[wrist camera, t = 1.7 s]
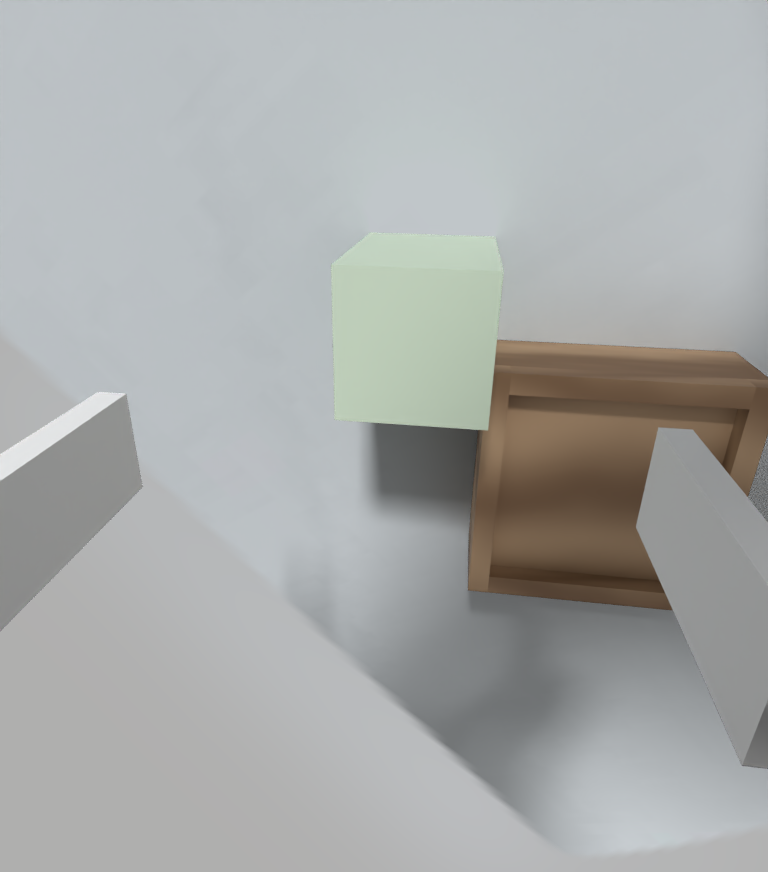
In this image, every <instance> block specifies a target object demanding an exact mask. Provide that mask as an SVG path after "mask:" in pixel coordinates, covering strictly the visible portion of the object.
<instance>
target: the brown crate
mask: <svg viewBox="0 0 768 872" xmlns="http://www.w3.org/2000/svg"><path fill="white" fill-rule="evenodd" d="M658 427H660V428H676V429H692V430H694V432H695V433H696V434H697V435H698V437H699V438H700V439H701V440H702V442H703V443H704V444H705V445H706V446H707V448H708V449H709V450H710V451H711V453H712V454H713V455H714V456H715V458H716V459H717V460H718V461H719V463H720V464H721V465H722V466H723V467H724V469H725V470H726V471H727V472H728V474H729V475H730V476H731V477H732V479H733V480H734V481H735V482H736V484H737V485H738V486H739V487H740V488H741V490H742V491H743V492H744V493H745V495H746V496H747V497H748V495H749V492H750V489H751V485H752V482H753V479H754V476H755V473H756V470H757V467H758V463H759V460H760V457H761V454H762V451H763V448H764V445H765V441H766V438H767V435H768V377H767V376H765V375H764V374H763V373H762V372H760V371H759V370H758V369H756V368H755V367H754V366H753V365H751V364H750V363H749V362H748V361H746V360H745V359H744V358H742V357H741V356H740V355H739V354H737V353H736V352H725V351H705V350H686V349H666V348H646V347H626V346H607V345H587V344H567V343H548V342H528V341H508V340H497V344H496V354H495V365H494V375H493V385H492V395H491V405H490V416H489V426H488V430H478V437H477V448H476V460H475V471H474V482H473V493H472V504H471V516H470V527H469V555H468V590H469V591H480V592H490V593H500V594H510V595H521V596H531V597H541V598H551V599H561V600H572V601H582V602H592V603H602V604H613V605H623V606H633V607H643V608H653V609H664V610H672V607H671V605H670V603H669V601H668V598H667V596H666V594H665V592H664V589H663V587H662V585H661V583H660V580H659V578H658V576H657V574H656V571H655V569H654V567H653V565H652V562H651V560H650V558H649V556H648V553H647V551H646V549H645V547H644V544H643V542H642V540H641V538H640V535H639V533H638V531H637V529H636V524H637V520H638V515H639V511H640V506H641V502H642V498H643V493H644V489H645V484H646V480H647V475H648V471H649V467H650V462H651V458H652V453H653V449H654V444H655V440H656V436H657V431H658Z"/></svg>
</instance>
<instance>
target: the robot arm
mask: <svg viewBox="0 0 768 872" xmlns="http://www.w3.org/2000/svg"><path fill="white" fill-rule="evenodd" d="M141 488H142V481H141V475H140V469H139V463H138V458H137V452H136V446H135V441H134V435H133V429H132V424H131V418H130V412H129V407H128V401H127V395H126V394H123V393H107V392H97V393H96V394H94V395H93V396H91V397H89V398H88V399H86V400H85V401H83V402H82V403H80V404H78V405H77V406H75V407H74V408H72V409H71V410H69V411H68V412H66V413H64V414H63V415H61V416H60V417H58V418H56V419H55V420H53V421H52V422H50V423H49V424H47V425H46V426H44V427H42V428H41V429H39V430H38V431H36V432H34V433H33V434H31V435H30V436H28V437H27V438H25V439H24V440H22V441H20V442H19V443H17V444H16V445H14V446H12V447H11V448H9V449H8V450H7V451H5V452H3V453H1V454H0V631H1V630H2V629H3V628H4V627H5V626H6V625H7V624H8V623H9V622H10V621H11V620H12V619H13V618H14V617H15V616H16V615H17V614H18V613H19V612H20V611H21V610H22V609H23V608H24V607H25V606H26V605H27V604H28V603H29V602H30V601H31V600H32V599H33V597H35V596H36V595H37V594H38V593H39V592H40V591H41V590H42V589H43V588H44V587H45V586H46V585H47V584H48V583H49V582H50V581H51V579H52V578H54V577H55V575H57V574H58V572H59V571H60V570H61V569H62V568H63V567H64V566H65V565H66V564H67V563H68V562H69V561H70V560H71V559H72V558H73V557H74V556H75V555H76V554H77V553H78V552H79V551H80V550H81V549H82V548H83V547H84V546H85V545H86V544H87V543H88V542H89V541H90V540H91V539H92V538H93V537H94V536H95V535H96V534H97V533H98V532H99V531H100V530H101V529H102V528H103V527H104V526H105V525H106V524H107V523H108V522H109V521H110V520H111V519H112V518H113V517H114V516H115V515H116V514H117V513H118V512H119V511H120V510H121V508H123V507H124V505H126V504H127V502H128V501H129V500H130V499H131V498H132V497H133V496H134V495H135V494H136V493H137V492H138V491H139V490H140V489H141ZM636 529H637V531H638V533H639V535H640V538H641V540H642V542H643V544H644V547H645V549H646V551H647V553H648V556H649V558H650V560H651V562H652V565H653V567H654V569H655V571H656V574H657V576H658V578H659V580H660V583H661V585H662V587H663V589H664V592H665V594H666V596H667V598H668V601H669V603H670V605H671V607H672V610H673V612H674V614H675V616H676V618H677V621H678V623H679V625H680V627H681V630H682V632H683V634H684V636H685V639H686V641H687V643H688V645H689V648H690V650H691V652H692V654H693V657H694V659H695V661H696V663H697V666H698V668H699V670H700V672H701V675H702V677H703V679H704V681H705V684H706V686H707V688H708V690H709V693H710V695H711V697H712V699H713V702H714V704H715V706H716V708H717V711H718V713H719V715H720V717H721V720H722V722H723V724H724V726H725V729H726V731H727V733H728V735H729V738H730V740H731V742H732V744H733V747H734V749H735V751H736V753H737V756H738V758H739V760H740V762H741V765H742V766H749V767H757V768H766V769H768V522H767V521H766V519H765V518H764V517H763V516H762V514H761V513H760V512H759V511H758V509H757V508H756V507H755V506H754V504H753V503H752V502H751V501H750V500H749V498H748V497H747V496H746V495H745V493H744V492H743V491H742V490H741V488H740V487H739V486H738V485H737V484H736V482H735V481H734V480H733V479H732V477H731V476H730V475H729V474H728V472H727V471H726V470H725V469H724V467H723V466H722V465H721V464H720V463H719V461H718V460H717V459H716V458H715V456H714V455H713V454H712V453H711V451H710V450H709V449H708V448H707V446H706V445H705V444H704V443H703V442H702V440H701V439H700V438H699V437H698V435H697V434H696V433H695V432H694V430H692V429H676V428H660V427H658V431H657V436H656V440H655V444H654V449H653V453H652V458H651V462H650V467H649V471H648V475H647V480H646V484H645V489H644V493H643V498H642V502H641V506H640V511H639V515H638V520H637V524H636Z"/></svg>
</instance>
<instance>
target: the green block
mask: <svg viewBox="0 0 768 872" xmlns="http://www.w3.org/2000/svg"><path fill="white" fill-rule="evenodd" d="M503 273H504V271H503V267H502V262H501V258H500V254H499V250H498V246H497V242H496V238H495V237H489V236H459V235H428V234H398V233H369V234H368V235H367V236H365V237H364V238H363V239H362V240H361V241H359V242H358V243H357V244H356V245H354V246H353V247H352V248H351V249H350V250H348V251H347V252H346V253H345V254H343V255H342V256H341V257H340V258H339V259H337V260H336V261H335V262H334V263H333V264H331V278H332V322H333V367H334V412H335V420H342V421H357V422H371V423H386V424H400V425H415V426H430V427H444V428H459V429H473V430H488V426H489V416H490V405H491V395H492V385H493V375H494V365H495V354H496V344H497V334H498V324H499V314H500V303H501V293H502V283H503Z"/></svg>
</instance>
